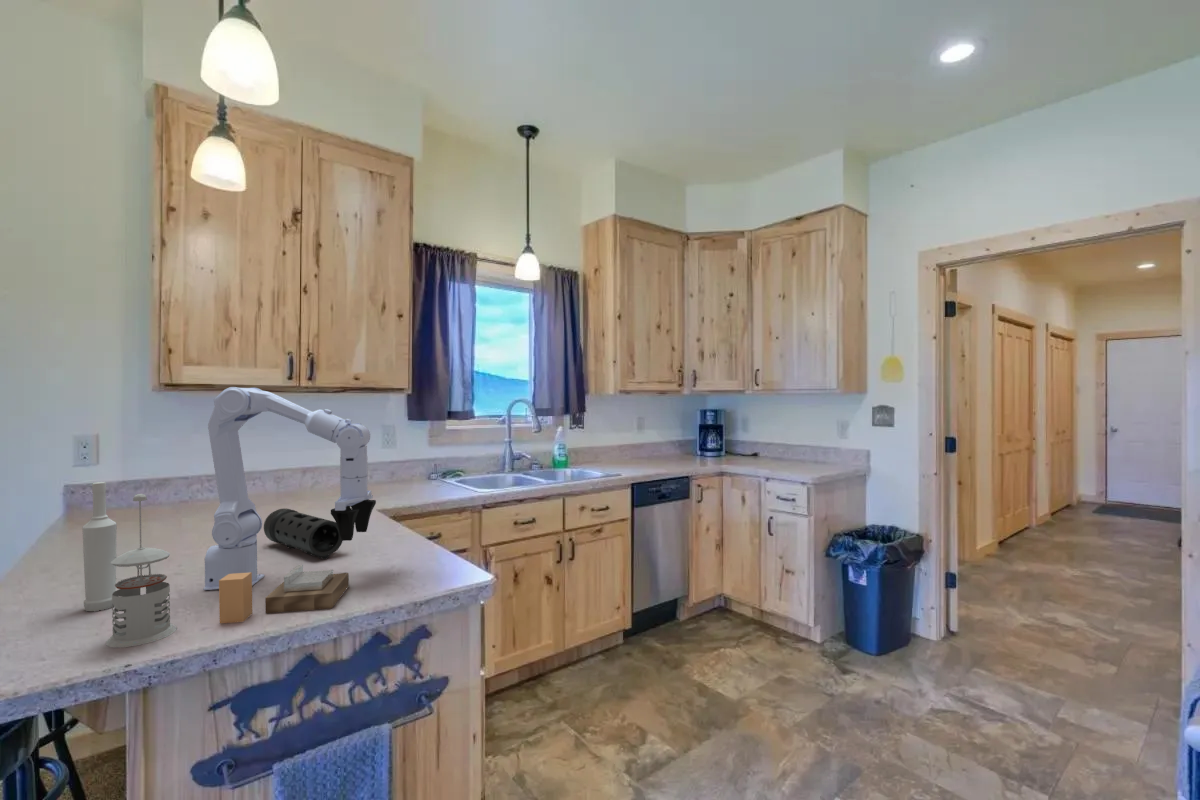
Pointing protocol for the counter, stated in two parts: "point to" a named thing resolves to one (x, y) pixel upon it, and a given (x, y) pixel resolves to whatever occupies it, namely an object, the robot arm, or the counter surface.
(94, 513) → the bottle
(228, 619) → the tan cardboard box
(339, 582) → the socket plate
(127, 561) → the french press
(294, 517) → the muzzle brake
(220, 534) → the robot arm
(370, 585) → the counter surface
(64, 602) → the counter surface
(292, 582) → the grey stepped block
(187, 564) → the counter surface
